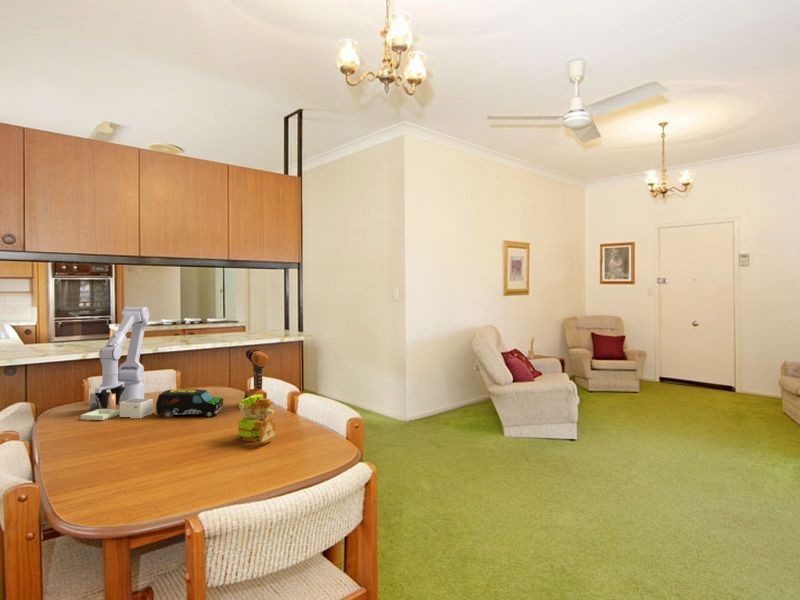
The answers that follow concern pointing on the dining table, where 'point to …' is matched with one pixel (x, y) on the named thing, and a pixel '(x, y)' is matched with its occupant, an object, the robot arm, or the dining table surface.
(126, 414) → the box
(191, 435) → the dining table surface
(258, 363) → the power drill
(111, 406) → the terracotta peg
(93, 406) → the grey peg
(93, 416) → the tray
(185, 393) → the toy van
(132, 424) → the dining table surface
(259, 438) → the toy
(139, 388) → the robot arm
